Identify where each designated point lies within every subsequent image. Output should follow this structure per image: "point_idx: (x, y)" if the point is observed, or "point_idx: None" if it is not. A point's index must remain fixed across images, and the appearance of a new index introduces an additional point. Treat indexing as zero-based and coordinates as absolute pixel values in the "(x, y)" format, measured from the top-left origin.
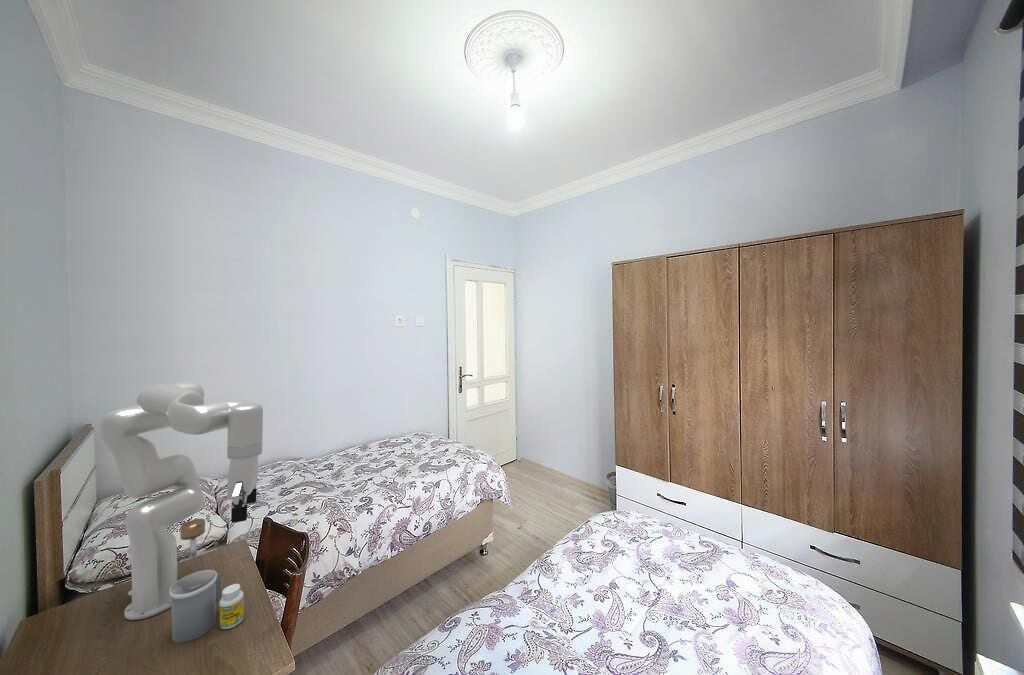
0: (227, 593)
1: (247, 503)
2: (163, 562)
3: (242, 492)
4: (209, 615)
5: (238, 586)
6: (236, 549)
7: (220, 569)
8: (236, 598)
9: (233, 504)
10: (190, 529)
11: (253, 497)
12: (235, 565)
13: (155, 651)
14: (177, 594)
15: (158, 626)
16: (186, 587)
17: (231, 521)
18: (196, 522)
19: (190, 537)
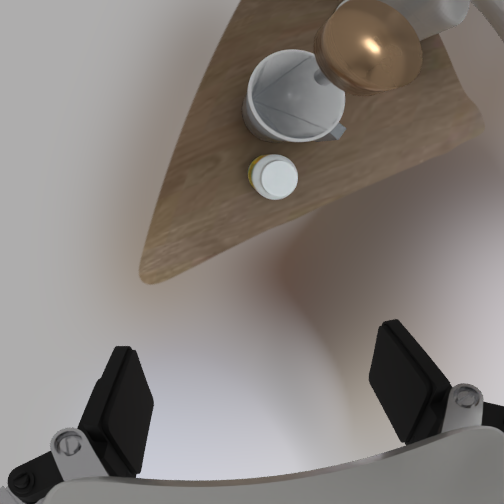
0: (263, 176)
1: (375, 347)
2: None
3: (427, 378)
4: (264, 137)
5: (282, 193)
6: (473, 130)
7: (431, 112)
8: (262, 191)
9: (17, 474)
10: (331, 40)
11: (383, 397)
12: (434, 135)
13: (237, 69)
14: (255, 74)
15: (304, 50)
16: (280, 84)
17: (115, 348)
18: (389, 53)
19: (316, 52)
